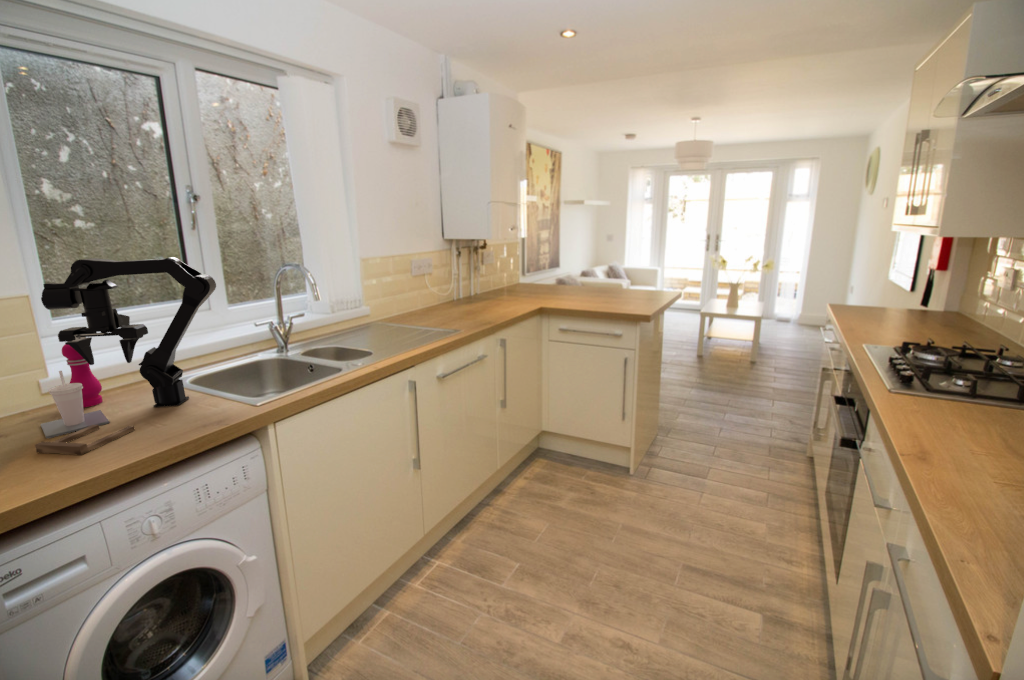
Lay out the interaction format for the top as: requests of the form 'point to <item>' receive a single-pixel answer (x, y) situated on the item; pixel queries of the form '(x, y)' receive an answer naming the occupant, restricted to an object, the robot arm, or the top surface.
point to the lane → (79, 448)
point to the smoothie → (69, 401)
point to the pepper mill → (83, 376)
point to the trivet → (60, 428)
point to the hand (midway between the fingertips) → (111, 363)
